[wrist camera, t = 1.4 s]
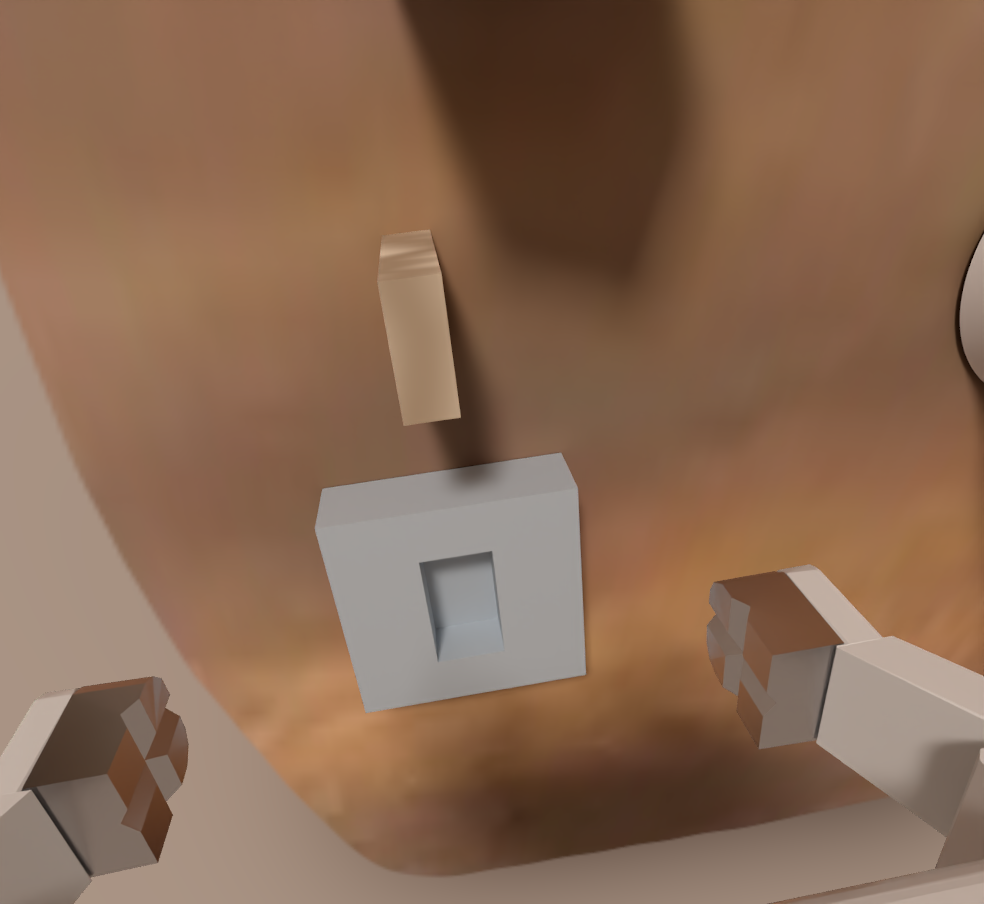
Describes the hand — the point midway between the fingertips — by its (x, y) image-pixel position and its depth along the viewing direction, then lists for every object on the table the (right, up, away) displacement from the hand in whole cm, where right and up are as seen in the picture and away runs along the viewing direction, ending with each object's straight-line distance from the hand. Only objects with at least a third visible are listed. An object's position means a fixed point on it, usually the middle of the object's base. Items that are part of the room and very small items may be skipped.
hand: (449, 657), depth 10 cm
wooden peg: (-3, +10, +19) cm, 22 cm away
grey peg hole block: (-1, -3, +26) cm, 26 cm away
